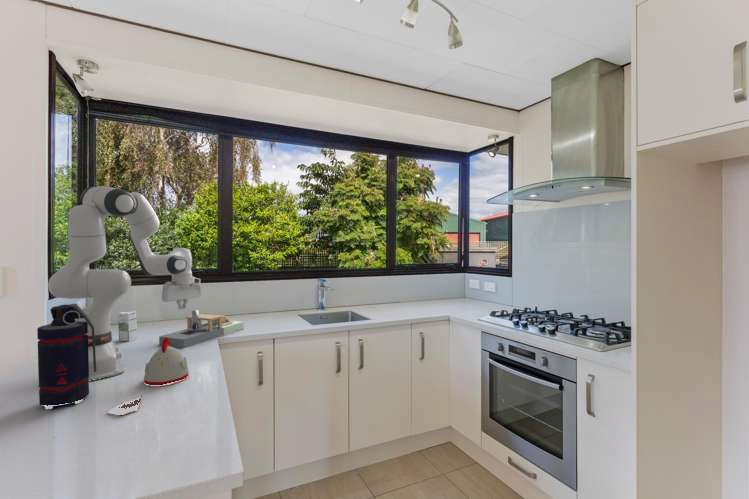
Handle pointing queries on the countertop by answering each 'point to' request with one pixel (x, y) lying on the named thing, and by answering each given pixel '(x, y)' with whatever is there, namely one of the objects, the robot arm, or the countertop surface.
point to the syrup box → (127, 325)
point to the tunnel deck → (195, 337)
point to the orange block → (222, 319)
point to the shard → (131, 404)
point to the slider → (196, 324)
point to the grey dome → (166, 366)
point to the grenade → (64, 356)
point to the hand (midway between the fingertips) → (182, 308)
